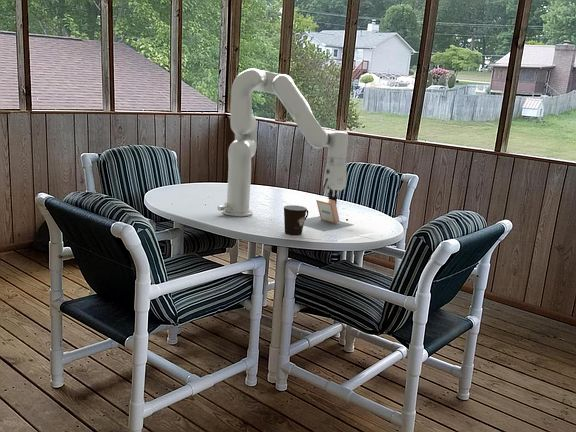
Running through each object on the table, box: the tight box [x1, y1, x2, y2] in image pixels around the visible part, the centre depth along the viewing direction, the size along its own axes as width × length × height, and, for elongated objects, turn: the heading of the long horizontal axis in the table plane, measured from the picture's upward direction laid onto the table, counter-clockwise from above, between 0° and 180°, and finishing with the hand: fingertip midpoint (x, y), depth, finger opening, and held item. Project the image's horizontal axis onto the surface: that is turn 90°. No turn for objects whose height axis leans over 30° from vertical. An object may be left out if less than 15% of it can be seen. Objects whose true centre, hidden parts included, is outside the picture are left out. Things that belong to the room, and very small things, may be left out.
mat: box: [303, 215, 354, 232], centre depth 228 cm, size 20×18×1 cm
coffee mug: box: [283, 204, 309, 237], centre depth 210 cm, size 12×9×10 cm
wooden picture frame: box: [315, 196, 340, 224], centre depth 229 cm, size 3×8×10 cm, turn 47°
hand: (332, 205), depth 231 cm, fingers closed
